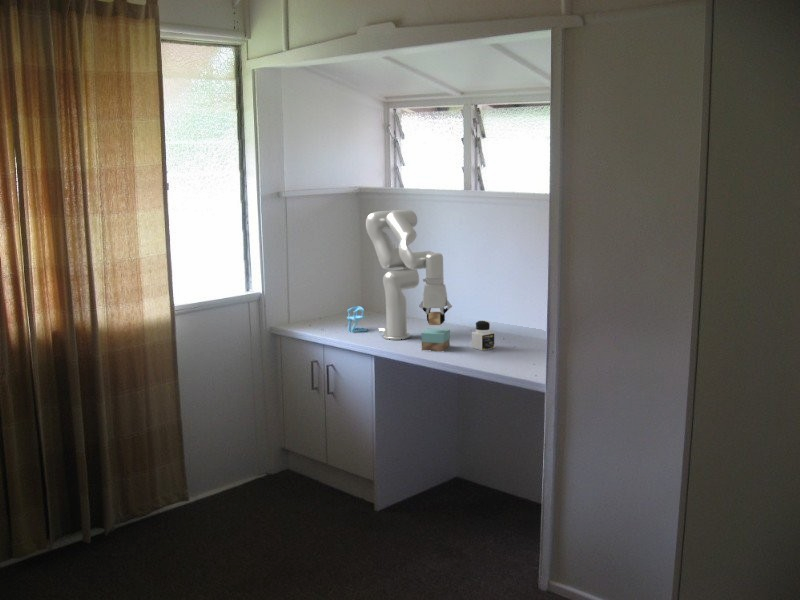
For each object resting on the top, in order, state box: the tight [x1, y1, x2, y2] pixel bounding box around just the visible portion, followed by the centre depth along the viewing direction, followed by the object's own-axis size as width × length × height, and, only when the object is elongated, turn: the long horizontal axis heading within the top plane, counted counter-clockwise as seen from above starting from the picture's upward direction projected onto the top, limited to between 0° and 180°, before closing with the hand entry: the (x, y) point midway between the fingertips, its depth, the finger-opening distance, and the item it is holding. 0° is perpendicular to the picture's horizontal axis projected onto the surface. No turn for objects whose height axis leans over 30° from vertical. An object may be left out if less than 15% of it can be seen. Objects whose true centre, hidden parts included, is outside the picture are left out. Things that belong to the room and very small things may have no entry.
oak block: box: [428, 310, 442, 326], centre depth 365 cm, size 5×5×5 cm
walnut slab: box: [421, 338, 451, 352], centre depth 368 cm, size 10×10×4 cm
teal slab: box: [421, 328, 451, 343], centre depth 367 cm, size 10×10×4 cm
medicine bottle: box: [471, 320, 495, 351], centre depth 365 cm, size 7×7×12 cm
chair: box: [346, 305, 368, 333], centre depth 407 cm, size 8×8×12 cm
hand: (435, 322), depth 366 cm, fingers closed on oak block, 4 cm apart
